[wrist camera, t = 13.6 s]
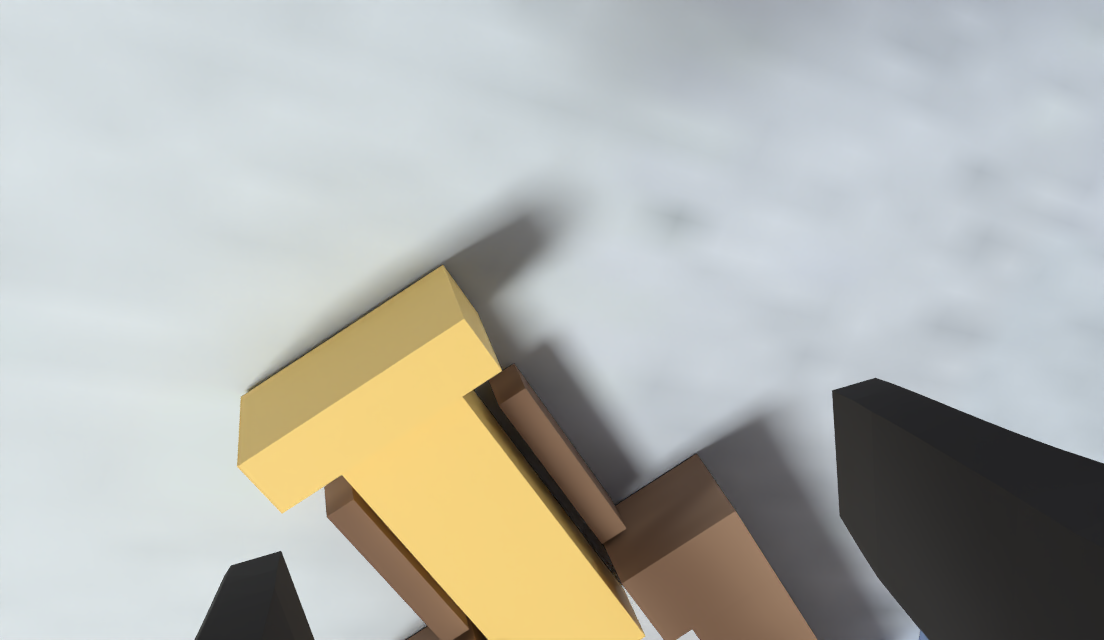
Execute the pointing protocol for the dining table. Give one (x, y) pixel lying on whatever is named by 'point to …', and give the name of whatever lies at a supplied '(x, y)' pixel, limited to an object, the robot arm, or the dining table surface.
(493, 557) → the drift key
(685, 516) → the socket
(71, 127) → the dining table surface
